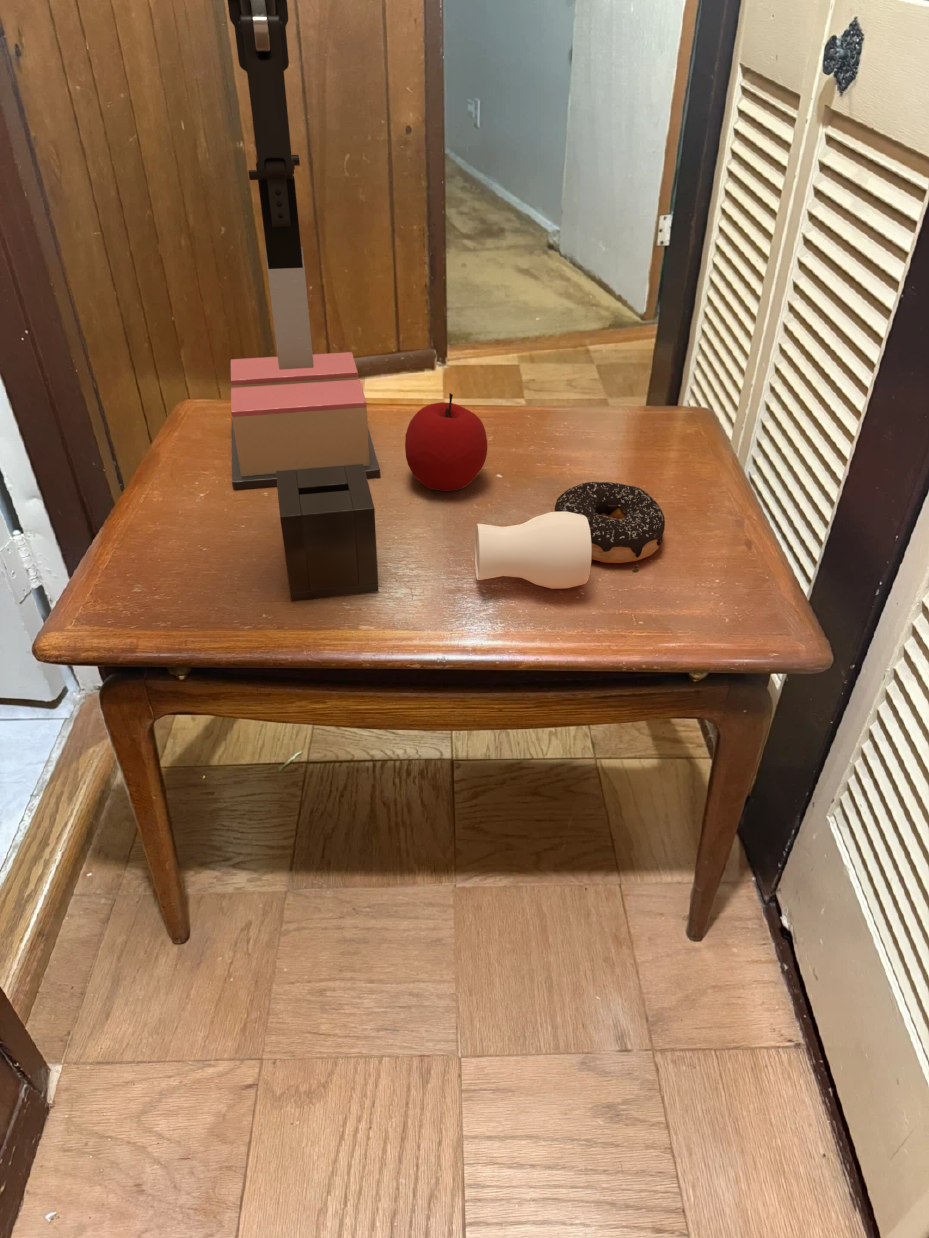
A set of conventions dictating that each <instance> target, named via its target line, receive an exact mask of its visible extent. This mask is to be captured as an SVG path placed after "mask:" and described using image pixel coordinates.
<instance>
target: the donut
mask: <svg viewBox="0 0 929 1238" xmlns="http://www.w3.org/2000/svg"><path fill="white" fill-rule="evenodd" d="M553 512H571V513H576V514H580V515H584V516H585V517H586V518H587V520H588V523H589V527H590V533H591V551H592V553H591V560H594V561H596V562H597V561H598V562H602V563H606V564H607V563H610V564H611V563H612V564H623V563H624V564H625V563H632V562H637V561H640V560H642V559H646V558H647V557H650V556H652V555H653V554H654V553H655V552H656V551H657V550H658V549H659V548H660V547H661V545H662V544H663V540H664V539H663V538H664V532H665V528H666V521H665V514H664V513H663V510H662V508H661V506H660V505H659V504H658V502H657V500H655V498H654V497H653V496H651V495H650V494H649V493H648V492H647V491H646V490H643V488H641V487H638V486H634V485H630V484H629V485H628V484H623V483H618V482H613V481H612V482H610V481H589V482H588V481H587V482H582V483H579V484H576V485H575V486H572V487H570V488H567V489H566V490H565V491H563V492H562V493H561V494H560V495H559V497H557V499H556V502H555V505H554V511H553Z"/></svg>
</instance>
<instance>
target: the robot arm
mask: <svg viewBox="0 0 929 1238" xmlns="http://www.w3.org/2000/svg"><path fill="white" fill-rule="evenodd" d="M227 7H228V16H229V20H230V22H231V24H232V25H233V28H234V35H235V42H236V52H237V59H238V64H239V67H240V68H241V70H243V71H245V72H246V75H247V83H248V92H249V93H248V94H249V101H250V108H251V116H252V117H251V119H253V124H252V128H253V127H254V133H253V136H254V135H255V141H254V140H253V145H254V146H255V144H256V150H255V153H256V152H257V158H256V157H255V168H256V169H250V170H248V179H249V181H257V184H258V191H259V201H260V202H259V203H260V208H261V217H262V226H263V234H264V243H265V248H266V252H267V261H268V269H286V268H303V263H302V253H301V247H302V243H301V233H300V221H299V211H298V202H297V201H298V199H297V192H296V191H297V189H296V180H295V176H293V175H294V174H295V170H296V168H295V167H300V165H301V162H300V154H292V155H291V153H292V145H291V144H290V143H291V134H289V132H290V124H289V114H288V113H289V112H288V101H287V90H286V81H285V79H286V78H285V71H286V70H287V69H288V68H289V64H290V59H289V58H290V57H289V49H288V38H287V25H288V23H289V8H288V0H227ZM257 160H258V161H257Z"/></svg>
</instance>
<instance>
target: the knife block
mask: <svg viewBox="0 0 929 1238" xmlns="http://www.w3.org/2000/svg"><path fill="white" fill-rule="evenodd" d="M276 478H277V486H276V487H277V488H276V489H277V500H278V510H279V519H280V528H281V535H282V543H283V549H284V558H285V565H286V574H287V580H288V581H287V582H288V588H289V597H290V602H298V601H306V600H307V601H308V600H314V599H316V600H317V599H325V598H334V597H335V598H336V597H343V596H352V595H353V596H354V595H360V594H361V595H362V594H368V593H369V594H370V593H379V591H380V590H379V589H380V588H379V570H378V569H379V568H378V549H377V548H378V547H377V530H376V513H375V512H376V511H375V504H374V501H373V498H372V497H373V496H372V493H371V489H370V484H369V480H368V478H367V477H366V473H365V469H364V465H363V464H355V465H344V466H331V467H319V468H307V469H296V470H284V471H276Z"/></svg>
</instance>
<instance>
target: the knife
mask: <svg viewBox="0 0 929 1238" xmlns="http://www.w3.org/2000/svg"><path fill="white" fill-rule="evenodd" d="M251 120H252V121H251V122H252V123H251V124H252V125H253V118H251ZM252 132H253V142H254V141H255V135H254V127H253V126H252ZM290 133H291V131H289V134H290ZM290 135H291V134H290ZM291 143H292V142H290V144H291ZM254 149H255V159H256V158H257V152H256V144H255V145H254ZM291 155H293V154H292V152H291ZM257 161H258V160H257ZM293 176H294V174H293ZM294 177H295V176H294ZM301 253H302V263H303V268H286V269H268V261H267V252H266V247H265V248H264V254H265V262H266V270H267V271H266V272H267V280H268V287H269V296H270V297H269V298H270V304H271V313H272V322H273V329H274V338H275V345H276V346H275V347H276V355H277V356H276V357H278V364H279V370H282V369H299V368H314V364H313V344H312V343H313V342H312V332H311V322H310V321H311V320H310V309H309V300H308V287H307V279H306V268H305V258H304V257H305V256H304V248H303V246H301Z"/></svg>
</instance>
